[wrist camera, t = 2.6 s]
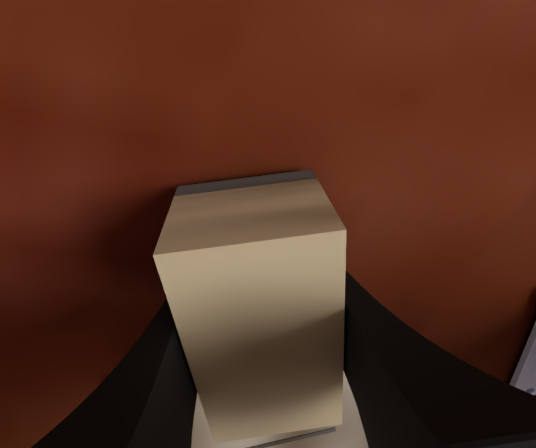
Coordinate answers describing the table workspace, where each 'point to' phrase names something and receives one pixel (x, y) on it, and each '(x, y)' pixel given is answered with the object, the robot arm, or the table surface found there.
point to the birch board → (292, 443)
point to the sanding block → (258, 301)
